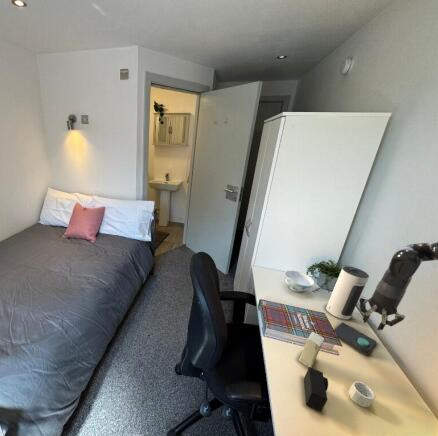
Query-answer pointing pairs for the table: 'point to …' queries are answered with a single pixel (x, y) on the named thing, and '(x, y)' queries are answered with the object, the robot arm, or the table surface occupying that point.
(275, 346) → the table surface
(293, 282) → the chinaware
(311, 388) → the digital camera
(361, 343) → the tare button
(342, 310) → the speaker
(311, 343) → the cosmetic box
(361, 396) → the white tape roll
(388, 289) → the robot arm
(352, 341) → the scale
